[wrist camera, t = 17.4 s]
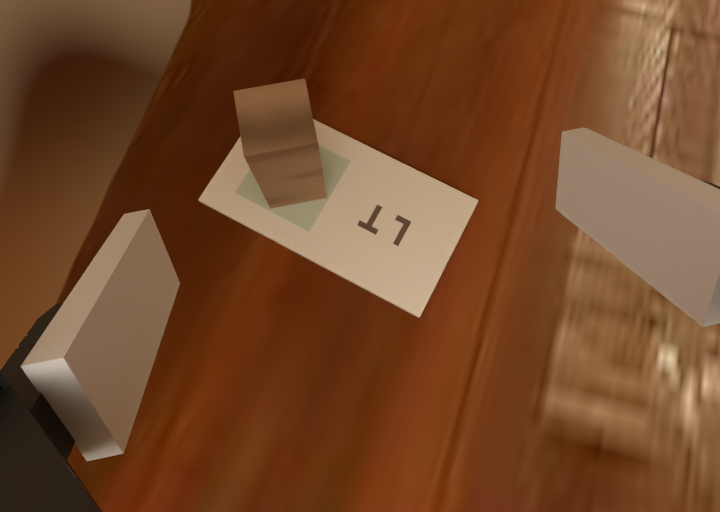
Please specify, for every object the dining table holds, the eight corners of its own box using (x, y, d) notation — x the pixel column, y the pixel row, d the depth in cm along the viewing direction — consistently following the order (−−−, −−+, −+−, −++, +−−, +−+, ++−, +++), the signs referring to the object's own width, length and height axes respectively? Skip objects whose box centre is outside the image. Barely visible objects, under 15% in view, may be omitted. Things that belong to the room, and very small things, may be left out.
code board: (268, 99, 53) (266, 96, 52) (477, 202, 50) (478, 200, 49) (199, 201, 50) (197, 199, 49) (418, 318, 47) (419, 317, 46)
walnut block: (261, 157, 50) (233, 91, 39) (316, 146, 51) (304, 78, 39) (270, 208, 49) (243, 156, 37) (327, 197, 49) (318, 142, 38)
